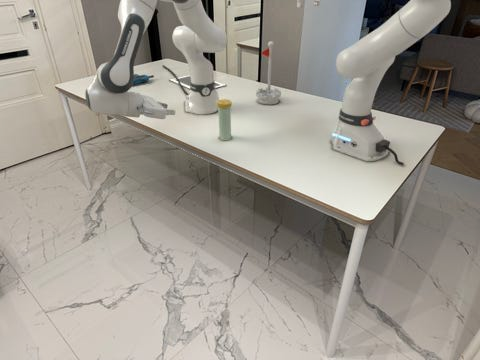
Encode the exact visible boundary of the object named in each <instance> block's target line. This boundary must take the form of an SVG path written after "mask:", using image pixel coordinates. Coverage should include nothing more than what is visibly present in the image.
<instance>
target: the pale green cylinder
mask: <svg viewBox="0 0 480 360" xmlns="http://www.w3.org/2000/svg"><path fill="white" fill-rule="evenodd" d="M231 108H232V107H230V108H226V109H222V108H218V110H217V111H218V112H217V113H218V130H219V131H218V134H219V137H218V138H219V140H221V141H229V140H231V139H232V116H231V115H232V111H231Z"/></svg>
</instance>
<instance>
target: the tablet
mask: <svg viewBox="0 0 480 360" xmlns="http://www.w3.org/2000/svg"><path fill="white" fill-rule="evenodd" d="M177 78H178V80H179V82H180V83H181V85H182V87H183V88H186V89H189V90H190V82H191V77H190V74H188V75H183V76H179V77H177ZM169 81H170V82H172V83H175V84H177V85H179V83H178V81H177V79H176V78H175V77H174V78H171V79H169ZM214 81H215V89H219V88H223V87H226V86H227V85H226V84H225V83H222V82H219V81H217V80H214Z"/></svg>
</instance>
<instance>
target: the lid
mask: <svg viewBox="0 0 480 360" xmlns="http://www.w3.org/2000/svg"><path fill="white" fill-rule="evenodd" d="M232 104H233V103H232V100H231V99H226V98H224V99H219V100H218V101H217V107H218V108H222V109H226V108H232Z"/></svg>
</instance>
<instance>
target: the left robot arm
mask: <svg viewBox="0 0 480 360" xmlns="http://www.w3.org/2000/svg"><path fill="white" fill-rule="evenodd" d="M159 1H161V2H166V3H167V2H168V3H172V4H173V6H174V9H175V12H176V15H177V17H178V20H179V21H180V23H181V24H182V25H178V26H176V27H175V28H174V30H173V31H172V42H173V45H174V46H175V48H176V49H178V50H179V51H180V52H181V53H182V55H183V56H184V58H185V59H186V62H187V64H188V69H189V75H190V77H191V82H190V89H189V91H188V93H187V91H186V89H185V87H184V86H182V85H181V83H180V82H179V80H178V78H179V77H177V75H176V74H175V73H174V72H173V71H172V70H171V69H170V68H168V67H167V66H165V64H162V67H163V68H164V69H166V70H167V71H168V72H170V74H172V75H173V76H174V78H176V79H177V81H178V83H179V84H178V85H179V86H180V88H181V90H182V92H183V93H184V94H185V100H184V104H185V105H184V106H185V107H184V108H185V112H186V113H191V114H196V115H211V114H213V113H216V112H217V111H218V107H217V101H218V100H220V97H219V93H218V91H217V90H216V88H215V81H216V80H215V79H214V75H215V74H214V66H213V64H212V62H211V61H210V60H209V59H207V58H206V57H205V56H204V54H203V53H210V54H211V53H212V54H214V53H215V54H216V53H220V52H223V51H224V50H225V49H226V47H227V45H228V36H227V35H228V34H227V33H226V31H225V30H224V29H223V28H222V27H220V26H218V25H217V24H216V23H214V22H213V20H212V19H211V18H210V17H209V15H208V14H207V12H206V11H205V8H204V5H203V2H202V0H159ZM157 4H158V0H120V1H119V5H118V10H117V19H118V21H119V23H120V26H121V27H120V28H121V30H120V36H119V38H118V40H117V41H118V42H117V45H116V47H115V48H116V49H115V50H114V54H113V56H112V58H111V59H110V60H109V61H107V62H103V63H102V64H100V65H99V67H98V68H97V70H96V73H95V76H94V78H93V80H92V82H91V83H90V85H89V86H88V87H87V88H86V89H85V93H84V94H85V102H86V106H87V107H88V109H89V110H90V111H91V112H92V113H95V114H100V115H105V116H117V115H118V116H122V117H126V118H127V117H128V118H140V117H141V115H142V116H144V117H146V118H150V119H157V120H158V119H159V120H165V119H166V118H167V116H175V115H176V110H175V109H172V108H169V109H168V104H167V102H161V101H158V100H156V99H154V98H153V97H152V96H148V95H144V94H141V93H140V92H135V91H129V90H130V89H132V87H133V85H134V84H133V82H134V74H135V71H134V69H135V68H134V65H135V60H136V57H137V55H138V51H139V48H140V45H141V42H142V38H143V36H144V34H145V32H146V30H147V29H148V27H149V25H150V23H151V21H152V19H153V16H154V13H155V10H156V9H157V8H156V7H157Z"/></svg>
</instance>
